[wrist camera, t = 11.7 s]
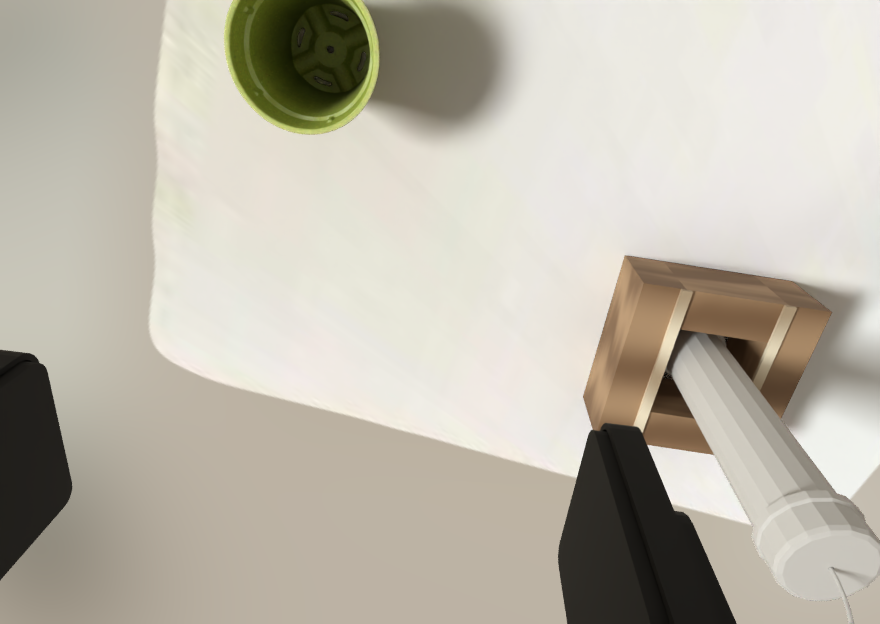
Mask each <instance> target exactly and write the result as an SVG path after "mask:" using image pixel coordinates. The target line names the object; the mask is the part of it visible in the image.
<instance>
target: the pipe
mask: <svg viewBox="0 0 880 624" xmlns="http://www.w3.org/2000/svg"><path fill="white" fill-rule="evenodd" d="M726 345H727V344H726V341H725V338H724V336H720V335H713V334H707V333H700V332H694V331H687V330H681V329H680V330H679V333H678V336H677V338H676V341H675V344H674V347H673V349H672V352H671V355H670V358H669V361H668V363H667V366H666V369H665V371H666V372H667V373H668V374H669V375H670V376H672V378H673V379H674V381H675V383H676V385H677V387H678V389H679V391H680V392H681V394H682V396H683V398H684V400H685V402H686V404H687V405H688V407H689V409H690V411H691V413H692V415H693V417H694V418H695V420H696V422H697V424H698V426H699V428H700V430H701V431H702V433H703V435H704V437H705V439H706V441H707V443H708V444H709V446H710V448H711V450H712V452H713V454H714V456H715V457H716V459H717V461H718V463H719V465H720V467H721V469H722V470H723V472H724V474H725V476H726V478H727V480H728V482H729V483H730V485H731V487H732V489H733V491H734V493H735V495H736V496H737V498H738V500H739V502H740V504H741V506H742V508H743V509H744V511H745V513H746V515H747V517H748V519H749V521H750V522H751V524H752V526H753V532H752V539H753V542H754V545H755V547H756V550H757V552H758V554H759V555H760V557H761V558H762V559H763V560H764V561H765V562H766V563H767V565H768V567H769V569H770V571H771V573H772V575H773V577H774V578H775V580H776V582H777V583H778V584H779V585H780V586H781V587H783V588H784V589H785V590H786V591H788V592H789V593H790V594H791V595H792V596H796V597H799V598H802V599H806V600H809V601H831V600H835V599H839V598H842V599H843V603H844V606H845V609H846V612H847V617H848V622H849V624H854V621H853V617H852V613H851V609H850V606H849V603H848V600H847V597H848V596H851V595H853V594H855V593H856V592H858V591H860V590H862V589H864V588H866V587H868V586H869V585H870V583H872V582H873V581H874V580H875V579H876V578H877V577H878V576H879V575H880V540H879V539H878V537H877V536H876V535H875V534H874V532H873V531H872V530H871V528H870V527H869V526H868V525H867V523H866V522H865V518H864V515H863V514H862V512H861V511H860V510H859V508H858V507H857V506H856V505H855V504H854V503H853V502H851V501H850V500H849V499H848V498H847V497H846V496H843V495H840V494H837V493H836V492H835V490H834V489H833V488H832V486H831V485H830V484H829V482H828V481H827V480H826V478H825V477H824V476H823V474H822V473H821V472H820V470H819V469H818V468H817V467H816V465H815V464H814V463H813V461H812V460H811V459H810V457H809V456H808V455H807V453H806V452H805V451H804V449H803V448H802V447H801V445H800V444H799V443H798V441H797V440H796V439H795V437H794V436H793V435H792V433H791V432H790V431H789V429H788V428H787V427H786V426H785V424H784V423H783V422H782V420H781V419H780V418H779V416H778V415H777V414H776V412H775V411H774V410H773V408H772V407H771V406H770V404H769V403H768V402H767V400H766V399H765V398H764V396H763V395H762V394H761V392H760V391H759V390H758V389H757V387H756V386H755V385H754V383H753V382H752V381H751V379H750V378H749V377H748V375H747V374H746V373H745V371H744V370H743V369H742V367H741V366H740V365H739V363H738V362H737V361H736V359H735V358H734V357H733V355H732V354H731V353H730V351H729V350H728V349H727V348H726Z"/></svg>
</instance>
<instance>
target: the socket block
mask: <svg viewBox="0 0 880 624" xmlns="http://www.w3.org/2000/svg"><path fill="white" fill-rule="evenodd" d="M831 313H832V312H831V311H830V310H829V309H827V308H826V307H825V306H823V305H822V304H821V303H819V302H818V301H817V300H816V299H814V298H813V297H812V296H810V295H809V294H808V293H807V292H805V291H804V290H803V289H801V288H800V287H799V286H797V285H796V284H795V283H794V282H792V281H787V280H780V279H774V278H767V277H761V276H754V275H748V274H742V273H735V272H729V271H722V270H716V269H709V268H703V267H696V266H690V265H683V264H677V263H670V262H664V261H657V260H651V259H644V258H638V257H632V256H625V257H624V260H623V264H622V267H621V271H620V274H619V277H618V281H617V284H616V287H615V291H614V294H613V298H612V301H611V304H610V308H609V311H608V314H607V318H606V321H605V325H604V328H603V331H602V335H601V338H600V341H599V345H598V348H597V352H596V355H595V358H594V362H593V365H592V368H591V372H590V375H589V379H588V382H587V385H586V389H585V392H584V395H583V398H584V401H585V405H586V408H587V411H588V415H589V418H590V422H591V425H592V428H593V430H597V431H600V429H601V427H602V425H603V424H604V423H611V424H619V425H628V426H636V427H638V428H640V430H641V432H642V434H643V436H644V439H645V441H646V444H647V445H653V446H659V447H666V448H672V449H679V450H686V451H692V452H699V453H705V454H712V455H714V454H713V452H712V450H711V448H710V446H709V444H708V443H707V441H706V439H705V437H704V435H703V433H702V431H701V430H700V428H699V426H698V424H697V422H696V420H695V418H694V417H693V415H692V413H691V411H690V409H689V407H688V405H687V404H686V402H685V400H684V398H683V396H682V394H681V392H680V391H679V389H678V387H677V385H676V383H675V381H674V380H672V379H665V378H662V377H663V374H664V372H665V369H666V366H667V363H668V361H669V358H670V355H671V352H672V349H673V347H674V344H675V341H676V338H677V336H678V333H679V330H680V329H681V330H687V331H694V332H700V333H707V334H713V335H720V336H726V337H729V338H728V341H727V343H726V344H727V345H726V348H727V349H728V350H729V351H730V353H731V354H732V355H733V357H734V358H735V359H736V361H737V362H738V363H739V365H740V366H741V367H742V369H743V370H744V371H745V373H746V374H747V375H748V377H749V378H750V379H751V381H752V382H753V383H754V385H755V386H756V387H757V389H758V390H759V391H760V392H761V394H762V395H763V396H764V398H765V399H766V400H767V402H768V403H769V404H770V406H771V407H772V408H773V410H774V411H775V412H776V414H777V415H778V416H779V418H780V419H781V418H782V415H783V413H784V411H785V409H786V407H787V405H788V403H789V401H790V399H791V397H792V395H793V393H794V390H795V388H796V386H797V384H798V382H799V380H800V378H801V376H802V374H803V372H804V370H805V368H806V365H807V363H808V361H809V359H810V357H811V355H812V353H813V351H814V349H815V347H816V345H817V342H818V340H819V338H820V336H821V334H822V332H823V330H824V328H825V326H826V324H827V322H828V320H829V317H830V315H831Z"/></svg>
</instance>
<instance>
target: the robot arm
mask: <svg viewBox="0 0 880 624" xmlns="http://www.w3.org/2000/svg"><path fill="white" fill-rule="evenodd" d="M71 491H72V481H71V476H70V472H69V467H68V463H67V458H66V454H65V449H64V445H63V440H62V436H61V431H60V426H59V422H58V418H57V413H56V408H55V404H54V399H53V395H52V391H51V386H50V381H49V377H48V372H47V369H46V367H45V366H44V365H43V364H40V363H39V361H38V359H37V358H36V357H35V356H34V355H32V354H30V353H22V352H13V351H6V350H0V580H1V579H2V578H3V576H4V575H5V574H6V573H7V572H8V571H9V569H10V568H11V567H12V566H13V565H14V564H15V562H17V560H18V559H19V558H20V557H21V556H22V555H23V553H24V552H25V551H26V550H27V549H28V548H29V547H30V545H31V544H32V543H33V542H34V541H35V540H36V538H37V537H38V536H39V535H40V534H41V533H42V532H43V530H44V529H45V528H46V527H47V526H48V525H49V524H50V523H51V521H52V520H53V519H54V518H55V517H56V516H57V515H58V513H59V512H60V511H61V510H62V509H63V508H64V506H65V505H66V504H67V502H68V500H69V498H70V495H71ZM558 563H559V571H560V578H561V585H562V591H563V598H564V604H565V611H566V617H567V624H736V621H735V619H734V617H733V614H732V612H731V610H730V608H729V605H728V603H727V601H726V598H725V596H724V594H723V592H722V589H721V587H720V585H719V582H718V580H717V578H716V576H715V573H714V571H713V569H712V566H711V564H710V562H709V560H708V557H707V555H706V553H705V551H704V548H703V546H702V544H701V541H700V539H699V537H698V535H697V532H696V530H695V528H694V525H693V523H692V522H691V520H690V518H689V517H688V516H687V515H686V514H685V513H683V512H677V511H674V509H673V507H672V505H671V502H670V500H669V497H668V495H667V492H666V490H665V487H664V485H663V483H662V480H661V478H660V475H659V473H658V470H657V468H656V466H655V463H654V461H653V458H652V456H651V453H650V451H649V449H648V446H647V444H646V441H645V439H644V436H643V434H642V432H641V430H640V428H638V427H636V426H628V425H619V424H611V423H604V424H603V425H602V427H601V429H600V431H597V430H591V431H590V433H589V435H588V439H587V442H586V446H585V450H584V454H583V457H582V461H581V465H580V469H579V473H578V476H577V480H576V484H575V488H574V491H573V495H572V499H571V503H570V506H569V510H568V514H567V518H566V521H565V525H564V529H563V533H562V537H561V540H560V545H559V554H558Z"/></svg>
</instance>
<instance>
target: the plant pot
mask: <svg viewBox="0 0 880 624" xmlns="http://www.w3.org/2000/svg"><path fill="white" fill-rule="evenodd" d="M332 11H338V12H340V13H343V14H345V15H347V17H348V18H349V19H348V21H346V20H344V19H342V18H340V17H337V16H334V15H331V14H330V13H331V12H332ZM302 27H303V28H305V32H304V35H303V38H302V42H301V44H300V45H301V47H299V46H298V41H297V38H298V33H299V31H300V29H301V28H302ZM328 46H332V47H333V48H334V52H333V53H329V52H328V51H327V47H328ZM224 48H225V55H226V60H227V64H228V68H229V71H230V74H231V77H232V79H233V81H234V83H235V85H236V87H237V89H238V91H239V92H240V94H241V95H242V97H243V98H244V99H245V101H246V102H247V103H248V104H249V105H250V106H251V108H252V109H253V110H254V111H255V112H256V113H258V114H259V115H260V116H261V117H262V118H264V119H265V120H266V121H268V122H270V123H271V124H273V125H275V126H277V127H279V128H282V129H284V130H287V131H290V132H293V133H298V134H307V135H315V134H323V133H327V132H330V131H333V130H336V129H338V128H341V127H343V126H345V125H346V124H348V123H349V122H350V121H352V120H353V119H354V118H355V117H356V116H357V115H358V114H359V113H360V112H361V111H362V110H363V108H364V107H365V106H366V104H367V103H368V101H369V99H370V97H371V95H372V93H373V91H374V88H375V85H376V82H377V78H378V73H379V64H380V50H379V40H378V36H377V31H376V28H375V25H374V22H373V19H372V17H371V15H370V13H369V11H368V9H367V7H366V5H365V4H364V2H363V1H362V0H233V1H232V3H231V6H230V8H229V11H228V14H227V17H226V22H225V31H224ZM362 52H365V54H366V60H365V62H364V66H363V68H362V70H361V71H358V70H357V67H358V65H359V63H360V60H361V54H362ZM315 76H317V77H319V78H321V79H323V80H325V81H328V82H331V83H332V85H331V86H327V85H325V84H320V83H318V82H317V81H315V79H314V77H315Z"/></svg>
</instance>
